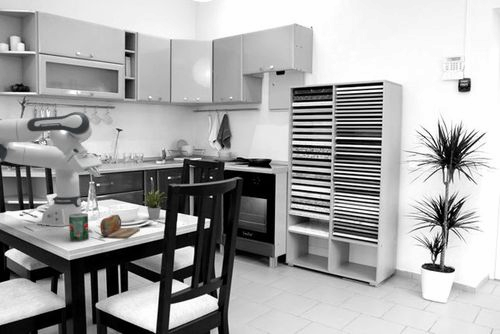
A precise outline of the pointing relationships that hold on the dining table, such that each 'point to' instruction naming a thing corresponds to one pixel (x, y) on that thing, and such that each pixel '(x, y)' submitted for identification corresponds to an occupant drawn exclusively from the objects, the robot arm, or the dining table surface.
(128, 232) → the walnut board
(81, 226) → the canned tomato
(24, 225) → the dining table surface
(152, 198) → the house plant
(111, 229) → the brown rounded block
